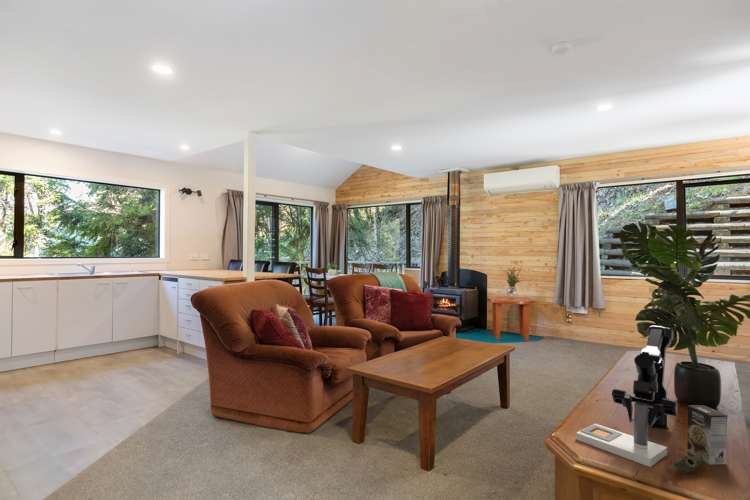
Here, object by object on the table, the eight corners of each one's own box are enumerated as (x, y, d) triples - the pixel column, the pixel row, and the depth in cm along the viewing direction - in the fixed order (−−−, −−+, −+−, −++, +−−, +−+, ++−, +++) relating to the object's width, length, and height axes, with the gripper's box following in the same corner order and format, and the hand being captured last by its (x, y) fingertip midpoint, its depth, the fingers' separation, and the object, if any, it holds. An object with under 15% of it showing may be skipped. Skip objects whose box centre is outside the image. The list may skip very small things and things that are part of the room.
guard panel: (576, 439, 154) (576, 431, 154) (594, 430, 162) (594, 422, 162) (650, 467, 135) (650, 458, 135) (667, 454, 143) (667, 446, 143)
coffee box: (686, 451, 145) (686, 404, 145) (703, 451, 146) (704, 404, 146) (709, 465, 136) (709, 415, 136) (727, 464, 137) (728, 414, 137)
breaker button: (591, 438, 154) (591, 432, 154) (597, 434, 157) (597, 429, 157) (604, 443, 150) (604, 437, 150) (610, 439, 153) (610, 434, 153)
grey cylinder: (645, 444, 145) (646, 403, 145) (649, 449, 141) (650, 407, 141) (632, 443, 146) (632, 402, 146) (635, 447, 142) (636, 405, 142)
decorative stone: (702, 483, 126) (703, 466, 126) (671, 474, 130) (671, 458, 130) (702, 468, 134) (703, 452, 134) (673, 461, 139) (673, 445, 139)
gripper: (613, 365, 152) (605, 404, 144) (676, 376, 140) (671, 419, 132) (618, 382, 158) (610, 421, 150) (679, 394, 146) (674, 436, 138)
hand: (639, 424), depth 142 cm, fingers open, 5 cm apart
